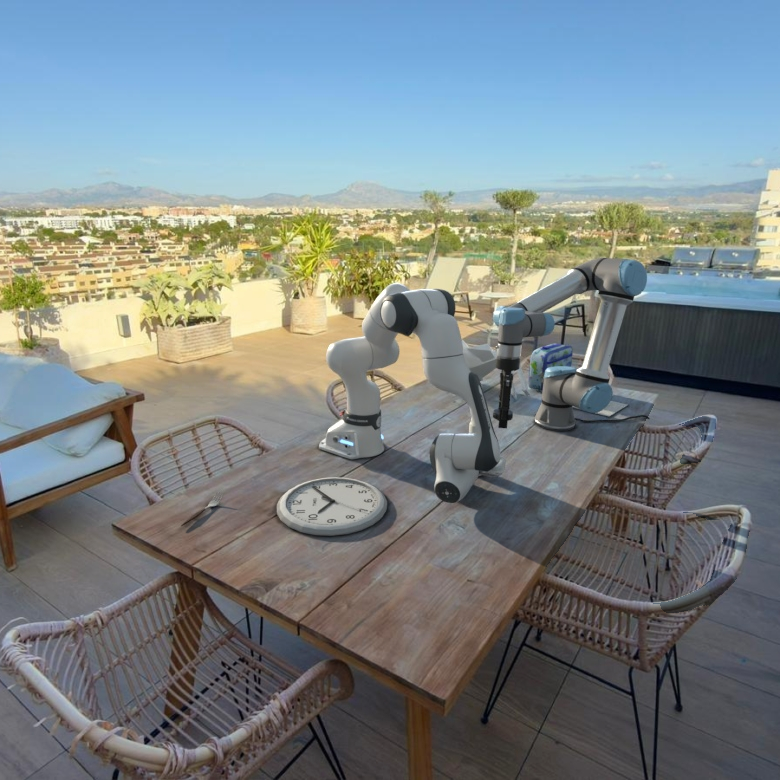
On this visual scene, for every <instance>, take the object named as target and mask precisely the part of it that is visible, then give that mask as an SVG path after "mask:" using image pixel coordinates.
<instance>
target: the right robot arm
mask: <svg viewBox="0 0 780 780" xmlns="http://www.w3.org/2000/svg"><path fill="white" fill-rule="evenodd" d="M647 282H648V273H647V269H646V268H645V266H644V264H643V263H642V262H640V261H638V260H635V259H630V258H614V257H612V258H611V257H598V258H594V259H591V260H588V261H586V262H583V263H581V264H579V265H577V266H575V267H573V268H572V269H570V270H568V271H567V272H566V274H565V275H564V276H563V277H560V278H559V279H557V280H555V281H554V282H552V283H550V284H548V285H546V286H545V287H542V288H541V289H538V290H536V291H535V292H534V293H532V294H530V295H528V296H526V297H524V298H523V299H521V300H519V301H517V302H516V303H514V304H512V305H509V306H508V305H500V306H498V307H497V308H496V309H495V310H494V311H495V312H494V311H493V312H494V315H493V314H492V319H493V324H495V326H496V327H497V326H498V327H499V331H498V335H497V345H495V349H496V350H497V355H498V356H497V357H496V369H498V370H499V371H500V373H499V385H500V387H499V395H498V407H497V409H499V410H500V415H499V420H497V419H496V421H498V429H508V412H509V410H511V404H510V403H511V395H512V394H511V388H512V381H513V382H514V373H513V371H514V372H515V371H516V372H517V370H518V369H519V367H520V365H521V357H522V346H523V338H533V337H545V336H549V335H550V334H552V333H553V331H554V329H555V325H556V324H555V323H556V322H555V318H554V316H553V315H552V314H551V313H550V312H547V311H548V310H550V309H551V308H554V307H555V306H557V305H559V304H561V303H563V302H564V301H566V300H568V299H570V298H571V297H573V296H575V295H583V294H584V293H586V292H589V291H590V292H591V291H598V292H597V296H598V298H599V300H600V302H599V306H598V310H597V312H596V313H597V314H596V317H595V319H594V323H593V327H592V331H591V333H590V337H589V341H588V345H587V348H586V351H585V354H584V358H583V362H582V365H581V367H579V368H577V367H574V366H571V367H568V366H555V367H549V368H547V369H546V370H545V375H544V378H543V390H542V391H541V402H540V405H539V407H538V410H537V411H536V413H535V414H534V424H535V425H536V426H537V427H539V428H542V429H544V430H549V431H556V432H567V431H572V430H574V429H575V428H576V421H577V422H582V423H604V422H607V423H616V422H617V423H618V422H624V421H628V420H632V419H637V418H645V419H647V420H650V419H651V418H650V417H649V416H648V415H645V414H638V415H633V416H632V415H631V416H628V417H625V418H619V419H581V418H578V417H576V416H575V413H574V407H577V408H579V409H578V410H580V409H581V411H583V412H587V413H590V414H596V413H597V412H600V411H602V410H603V409H604V408H606V406H607V405H608V404H609V403H610V401H612V399H613V395H614V391H613V387H612V386H611V384H609V382H610V379H611V377H610V376H609V374H608V371H609V368H610V367H609V366H610V363H611V360H612V356H613V353H614V349H615V346H616V344H617V339H618V336H619V333H620V330H621V327H622V323H623V321H624V320H623V319H624V317H625V313H626V310H627V306H629V305H630V304H632V303H633V302H634V299H635V297H637V296H640V295H641V294H642V292H644V290H645V289H646V286H647Z"/></svg>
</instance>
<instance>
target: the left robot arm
mask: <svg viewBox="0 0 780 780" xmlns="http://www.w3.org/2000/svg"><path fill="white" fill-rule="evenodd" d="M455 315H456V302H455V299H454V297H453V295H452V294H451V292H449V291H448V290H445V289H442V288H431V289H430V288H429V289H428V288H421V289H418V288H417V289H413V290H410V288H408V287H407V286H406V285H405V284H401V283H397V282H396V283H395V282H394V283H390V284H388V285H387V286H386V287H385V288H384V289H383V290H382V291H381V292H380V293H379V294H378V295H377V297H376V298H375V300H374V301H373V302H372V304H371V306H370V308H369V309H368V311H367V313H366V315H365V316H364V318H363V320H362V322H361V331H362V335H363V336H358V337H350V338H344V339H340V340H337V341H335V342H332V343H330V344H329V346H328V347H327V350H326V353H325V361H326V364H327V366H328V367H329V369H330V371H332V372H333V373H335V374H336V375H338V377H339V378H340V379H341V381H342V382H343V385H344V388H345V395H346V408H344V409H343V410H342V411H341V412H339V414H340V415H339V416H340V417H342V418H341V419H340V420H338V421H337V422H335V423H334V424H332V425H331V426H330V427H328V429H327V431H326V434H325V438H324V439H322V440H321V441H320V443H319V444H318V449H319V450H322V451H323V452H324V451H325V452H327V453H330V454H334V455H336V456H339V457H342V458H345V459H348V460H356V459H362V458H371V457H377V456H378V455H380V454H382V453H384V451H385V446H384V442H383V440H384V435H383V434H382V430H381V427H382V409H381V389H380V387H379V386H378V384H377V383H375V382H374V381H372V380H370V379H368V376H367V371H372V370H378V369H383V368H387V367H390V366H391V365H393V364H395V363H396V362H397V361H398V359H399V357H400V346H399V343H398V341H397V340H396V337H398V335H399V334H400V335H403V336H405V337H410V336H411V335H412V334H415V335H416V336H417V338H418V339H419V342H420V351H421V352H420V354H421V363H422V369H423V374H424V377H425V379H426V380H427V382H429V383H430V384H431V385H432V386H434V387H435V388H437V389H439V390H442V391H444V392H447V393H450V394H453V395H455V396H457V397H459V398H461V399H462V400H463V401H464V402H466V404H467V406H468V408H469V413H470V417H472V420H473V424H474V427H475V431H476V433H469V432H467V433H465V432H464V433H461V432H460V433H459V432H441V433H439V434H438V435H436V436H435V438H434V439H433V441H432V443H431V445H430V448H429V462H430V465H431V467H432V469H433V471H434V473H435V475H436V477H435V482H434V487H433V489H434V490H433V491H434V494H435V495H436V497H437V498H438V499H439V500H441V501H442V502H444V503H448V504H456V503H458V502H460V501H462V500H463V499H464V498H465V497H466V496H467V494H468V493H469V492H470V490H471V489H472V487H473V485H474V484H475V482H476V481H477V479H478V478H479V477H480V476H479V474H480V475H481V476H485V477H491V478H498V477H499V476H501V475H502V474H503V473H504V471H506V462H507V461H506V459H505V457H502V456H501V453H502V452H501V447H500V444H499V443H500V442H499V440H498V437H497V434H496V431H495V429H494V425H493V421H492V418H491V414H490V410H489V407H488V403H487V400H486V396H485V393H484V389H483V386H482V382H481V381H480V380H479V378H478V376H477V375H476V374H474V373H472V372H471V371H470V370H469V368H468V366H467V365H466V362H465V359H464V354H463V345H462V339H463V338H462V335H461V331H460V327H459V324H458V321H457V319H456V318H455Z"/></svg>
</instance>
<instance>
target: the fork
mask: <svg viewBox="0 0 780 780" xmlns="http://www.w3.org/2000/svg"><path fill="white" fill-rule="evenodd" d="M224 494H225V493H223V492H220V491H217V492H216V494H215V495H214V496H213V498H212V499H211V500H210V502H209V503H208V504H207V506H206V507H204V508H202V509H200V510H198V511H197V512H195V513H194V514H193V515H192V516H190V517H189V518H188V519H186V520H185V521H184V522H183V523H182V524H181V525H180V526H181V527H183V526H185V525H187V524H189V523H190V522H191V521H193V520H195V519H196V518H198V517H199V516H201V515H202V514H203V513H204V512H205V511H206V510H207V509H208V508H212V507H216V506H218V505H219V504H220V503H221V501H222V498H223V497H224Z"/></svg>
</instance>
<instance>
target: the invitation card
mask: <svg viewBox="0 0 780 780" xmlns="http://www.w3.org/2000/svg"><path fill="white" fill-rule="evenodd" d="M628 406H629V404H627V403H623V402H618V401H614V400H611V401H610V403H609V404H608V405H607V406H606V408H604V409H603V410H602V411H600V412H597V413H595V414H596V415H600V416H604V417H608V418H609V417H611V416H613V415H614V414H616V413H617V412H619V411H621V410H623V409H624V408H626V407H628ZM573 409H575V410H581V409H579V408H577V407H574V406H573ZM581 411H582V410H581Z"/></svg>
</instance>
